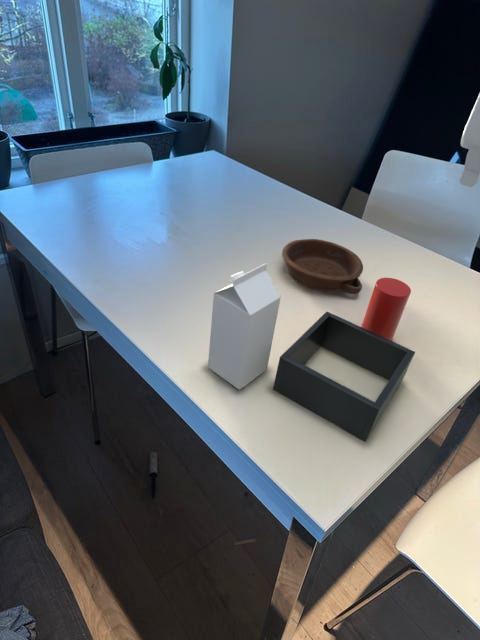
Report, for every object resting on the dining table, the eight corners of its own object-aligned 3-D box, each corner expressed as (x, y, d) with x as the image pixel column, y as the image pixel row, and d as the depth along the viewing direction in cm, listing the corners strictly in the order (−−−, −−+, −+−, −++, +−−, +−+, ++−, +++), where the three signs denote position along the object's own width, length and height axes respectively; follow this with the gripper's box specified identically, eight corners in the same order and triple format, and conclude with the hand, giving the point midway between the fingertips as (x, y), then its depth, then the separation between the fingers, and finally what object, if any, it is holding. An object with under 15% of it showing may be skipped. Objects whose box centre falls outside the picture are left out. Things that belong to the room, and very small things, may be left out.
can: (394, 339, 85) (415, 286, 78) (383, 354, 81) (404, 300, 74) (365, 325, 88) (383, 273, 81) (353, 340, 84) (370, 286, 77)
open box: (401, 382, 76) (415, 351, 72) (365, 442, 65) (379, 409, 61) (318, 341, 82) (326, 311, 78) (272, 389, 71) (279, 356, 67)
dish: (330, 313, 90) (336, 292, 87) (257, 264, 103) (259, 245, 100) (380, 287, 100) (386, 268, 97) (307, 246, 112) (311, 228, 109)
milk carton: (267, 370, 75) (285, 273, 64) (239, 391, 70) (253, 291, 59) (235, 349, 78) (248, 253, 67) (207, 368, 74) (215, 269, 62)
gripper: (554, 55, 39) (485, 205, 47) (570, 48, 53) (515, 165, 61) (479, 43, 41) (426, 188, 50) (514, 39, 55) (468, 153, 64)
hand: (475, 175), depth 56 cm, fingers open, 8 cm apart
